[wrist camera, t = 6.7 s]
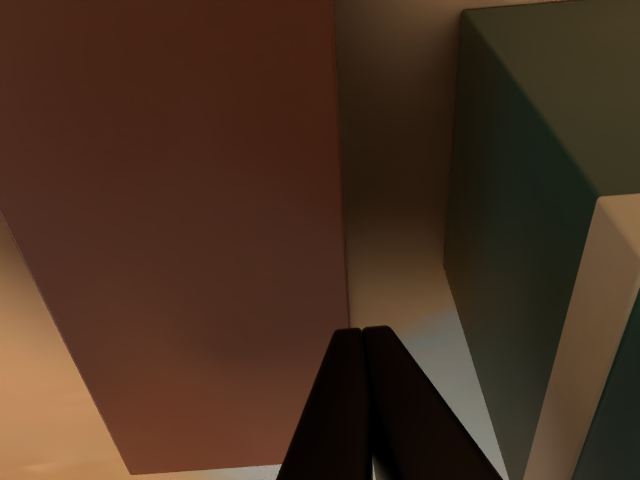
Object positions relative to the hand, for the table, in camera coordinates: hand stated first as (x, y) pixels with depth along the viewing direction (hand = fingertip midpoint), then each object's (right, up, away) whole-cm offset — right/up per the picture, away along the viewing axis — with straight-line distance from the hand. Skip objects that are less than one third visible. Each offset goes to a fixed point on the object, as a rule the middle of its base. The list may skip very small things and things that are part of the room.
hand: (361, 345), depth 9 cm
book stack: (-3, +3, +4) cm, 6 cm away
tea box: (+2, +3, +4) cm, 6 cm away
